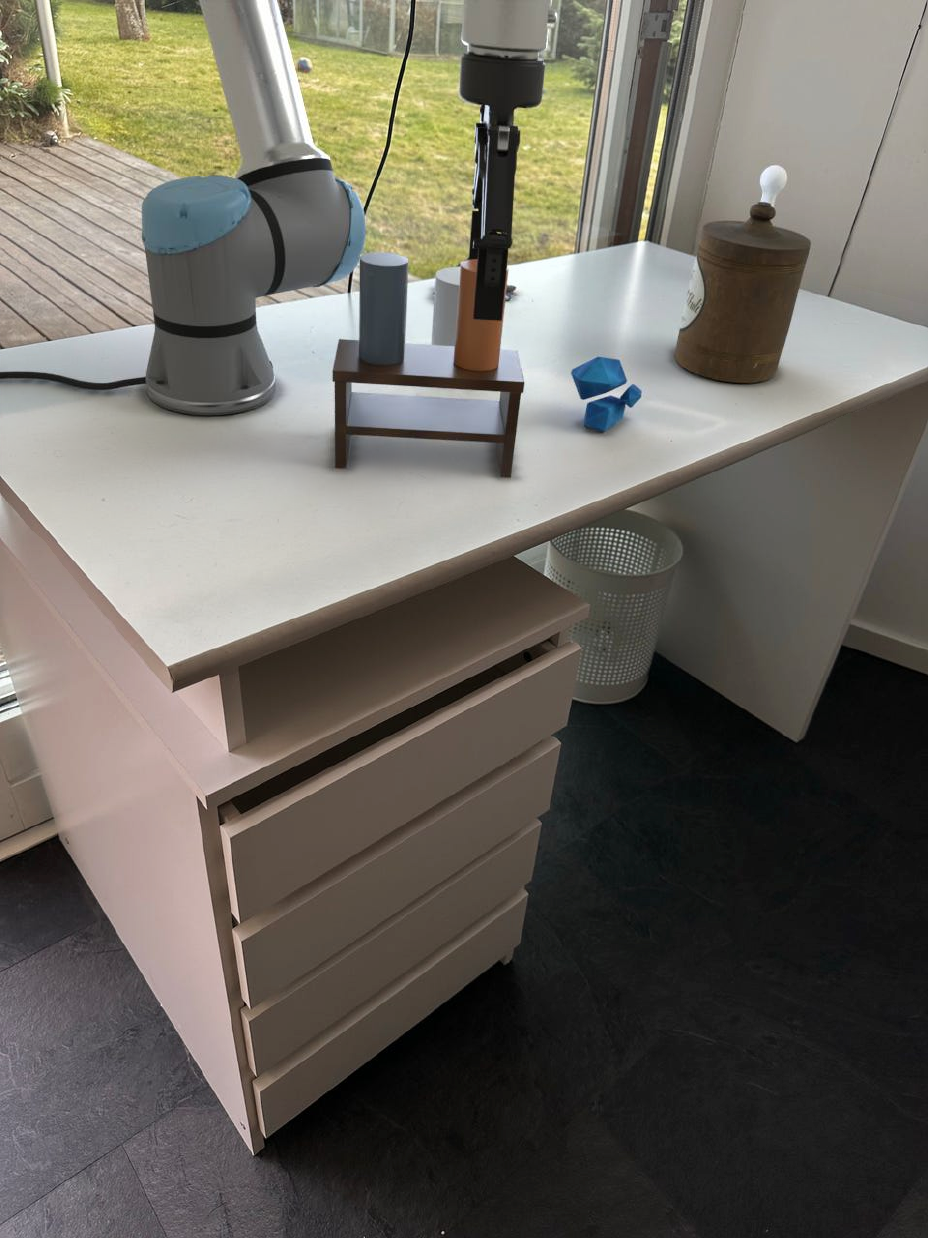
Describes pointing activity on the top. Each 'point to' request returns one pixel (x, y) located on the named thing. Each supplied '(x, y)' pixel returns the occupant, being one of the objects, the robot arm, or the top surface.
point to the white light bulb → (772, 183)
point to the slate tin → (382, 308)
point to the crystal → (603, 392)
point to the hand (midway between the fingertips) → (483, 296)
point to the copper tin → (475, 327)
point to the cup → (445, 306)
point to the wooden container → (741, 298)
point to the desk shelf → (427, 400)
